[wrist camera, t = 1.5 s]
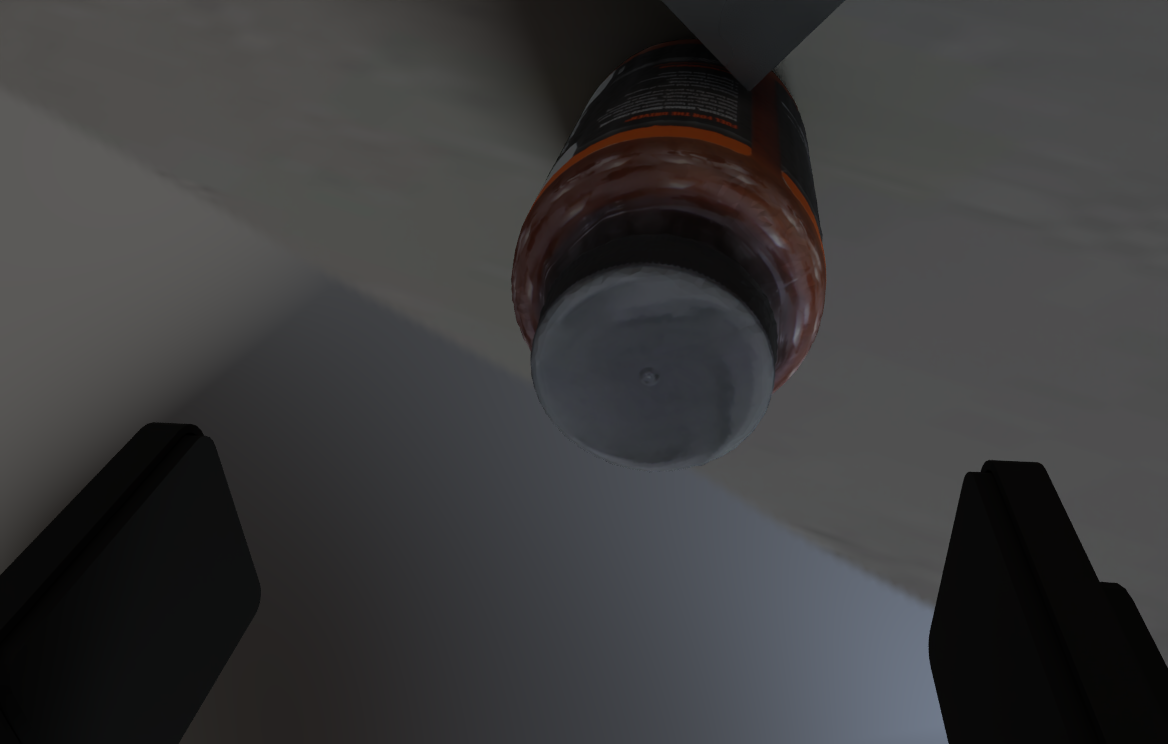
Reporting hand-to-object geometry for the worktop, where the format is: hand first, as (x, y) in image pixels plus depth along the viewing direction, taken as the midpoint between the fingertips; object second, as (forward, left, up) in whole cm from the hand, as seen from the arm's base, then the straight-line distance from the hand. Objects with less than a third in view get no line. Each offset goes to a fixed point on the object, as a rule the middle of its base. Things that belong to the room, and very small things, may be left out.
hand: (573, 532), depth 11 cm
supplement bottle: (0, 0, -15) cm, 15 cm away
